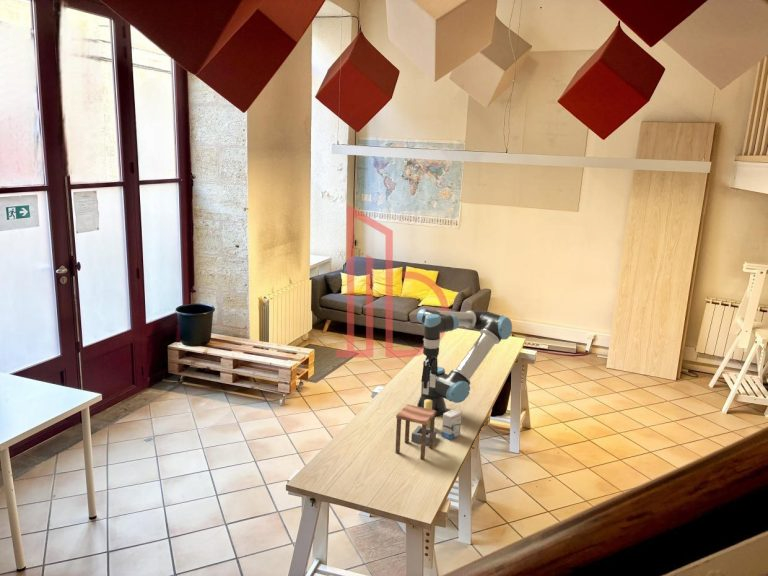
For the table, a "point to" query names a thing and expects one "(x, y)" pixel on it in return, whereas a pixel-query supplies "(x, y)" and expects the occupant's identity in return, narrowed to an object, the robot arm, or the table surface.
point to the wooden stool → (416, 416)
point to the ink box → (451, 424)
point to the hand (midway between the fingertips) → (428, 390)
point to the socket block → (418, 435)
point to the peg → (429, 406)
